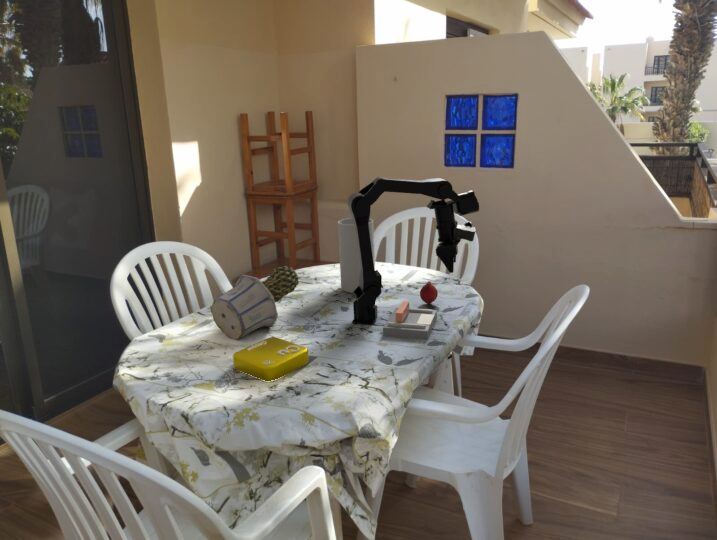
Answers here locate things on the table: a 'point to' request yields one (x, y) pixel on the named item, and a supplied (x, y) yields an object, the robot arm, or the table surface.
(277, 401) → the table surface
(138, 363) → the table surface
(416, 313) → the box
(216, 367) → the table surface
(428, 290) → the pomegranate
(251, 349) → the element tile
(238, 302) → the potted plant
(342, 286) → the cylinder vase
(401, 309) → the lever
